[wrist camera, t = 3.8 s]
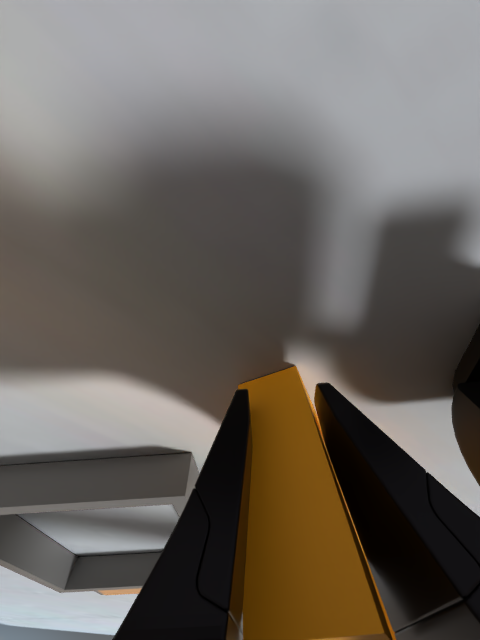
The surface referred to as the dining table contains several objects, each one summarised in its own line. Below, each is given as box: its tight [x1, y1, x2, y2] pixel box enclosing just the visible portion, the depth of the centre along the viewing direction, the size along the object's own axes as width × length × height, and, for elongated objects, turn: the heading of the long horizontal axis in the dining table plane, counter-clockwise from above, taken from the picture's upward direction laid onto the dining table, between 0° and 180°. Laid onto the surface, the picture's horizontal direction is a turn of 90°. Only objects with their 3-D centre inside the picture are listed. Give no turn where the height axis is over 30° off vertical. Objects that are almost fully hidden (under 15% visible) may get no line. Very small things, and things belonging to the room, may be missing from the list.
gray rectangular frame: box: [0, 453, 199, 593], centre depth 16 cm, size 15×17×2 cm
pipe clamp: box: [238, 366, 396, 640], centre depth 10 cm, size 12×4×6 cm, turn 24°
